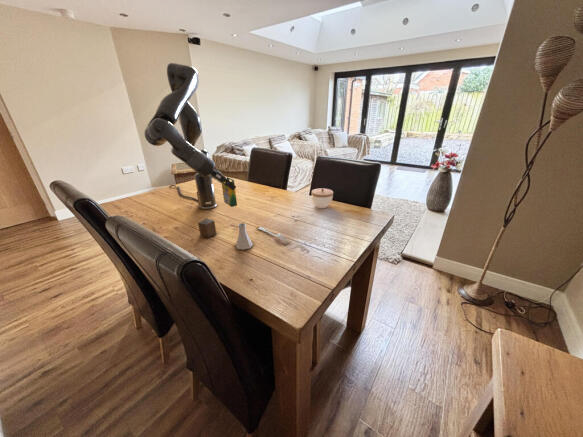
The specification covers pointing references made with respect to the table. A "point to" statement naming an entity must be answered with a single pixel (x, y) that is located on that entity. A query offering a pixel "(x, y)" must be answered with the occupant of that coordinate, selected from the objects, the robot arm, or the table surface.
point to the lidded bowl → (322, 197)
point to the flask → (243, 238)
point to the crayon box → (229, 194)
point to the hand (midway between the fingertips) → (231, 186)
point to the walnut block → (207, 228)
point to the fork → (274, 234)
